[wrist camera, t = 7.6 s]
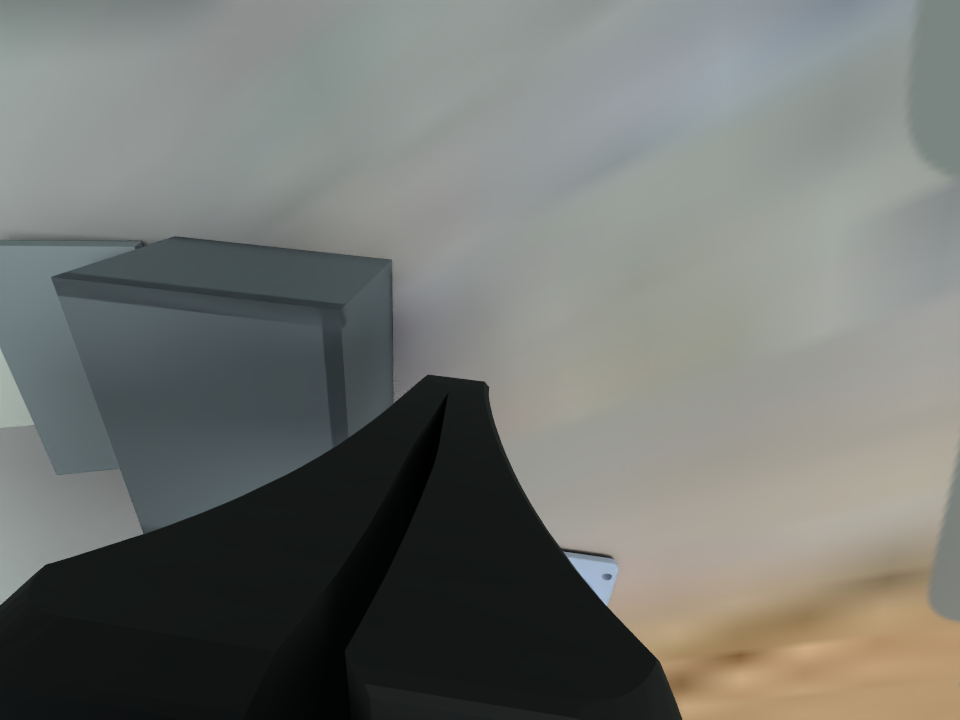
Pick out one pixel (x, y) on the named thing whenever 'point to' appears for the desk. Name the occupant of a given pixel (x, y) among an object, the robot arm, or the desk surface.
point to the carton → (228, 363)
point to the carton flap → (49, 353)
